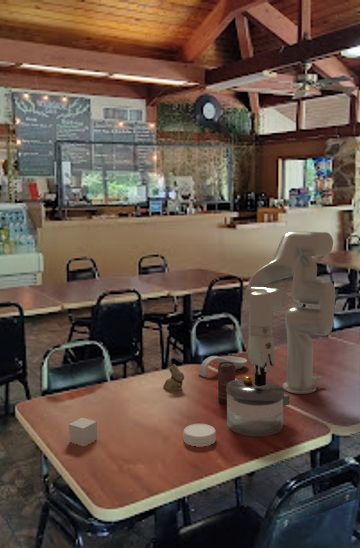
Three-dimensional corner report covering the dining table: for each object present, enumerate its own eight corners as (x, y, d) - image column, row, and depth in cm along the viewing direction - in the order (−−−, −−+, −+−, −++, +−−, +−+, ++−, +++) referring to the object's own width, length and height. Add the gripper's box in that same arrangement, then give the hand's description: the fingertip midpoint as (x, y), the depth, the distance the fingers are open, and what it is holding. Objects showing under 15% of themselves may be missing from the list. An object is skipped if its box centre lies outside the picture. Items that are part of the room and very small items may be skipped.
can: (234, 404, 200) (234, 366, 198) (217, 403, 201) (216, 366, 199) (236, 398, 206) (236, 361, 204) (219, 397, 207) (219, 360, 205)
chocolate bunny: (174, 393, 212) (174, 367, 211) (161, 388, 218) (161, 363, 217) (185, 389, 216) (185, 364, 215) (172, 384, 222) (172, 360, 220)
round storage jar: (259, 401, 202) (259, 375, 201) (299, 429, 179) (300, 399, 177) (208, 410, 195) (208, 383, 193) (243, 440, 171) (243, 409, 170)
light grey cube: (84, 447, 169) (83, 428, 168) (69, 442, 172) (68, 424, 172) (97, 439, 174) (96, 421, 173) (83, 435, 177) (82, 417, 177)
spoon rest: (233, 362, 250) (233, 346, 249) (252, 368, 241) (252, 352, 240) (193, 373, 235) (192, 357, 234) (211, 380, 226) (211, 363, 225)
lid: (265, 382, 194) (265, 372, 193) (295, 400, 176) (296, 389, 176) (216, 385, 186) (217, 374, 186) (243, 404, 169) (244, 393, 169)
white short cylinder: (205, 450, 166) (205, 439, 165) (177, 443, 171) (177, 432, 171) (221, 437, 174) (221, 427, 174) (193, 431, 179) (193, 420, 179)
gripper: (283, 334, 174) (282, 390, 176) (259, 323, 187) (258, 376, 190) (262, 336, 171) (261, 394, 174) (239, 326, 185) (239, 379, 187)
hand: (260, 384), depth 182 cm, fingers closed
